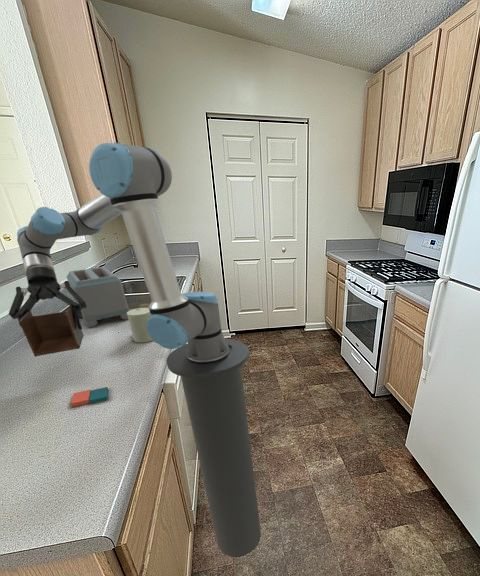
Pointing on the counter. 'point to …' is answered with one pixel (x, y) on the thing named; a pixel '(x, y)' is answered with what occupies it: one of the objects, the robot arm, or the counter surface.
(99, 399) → the packet teal
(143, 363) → the counter surface
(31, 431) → the counter surface
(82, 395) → the packet coral
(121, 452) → the counter surface
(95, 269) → the toaster
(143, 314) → the can
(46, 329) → the brown wooden open box
